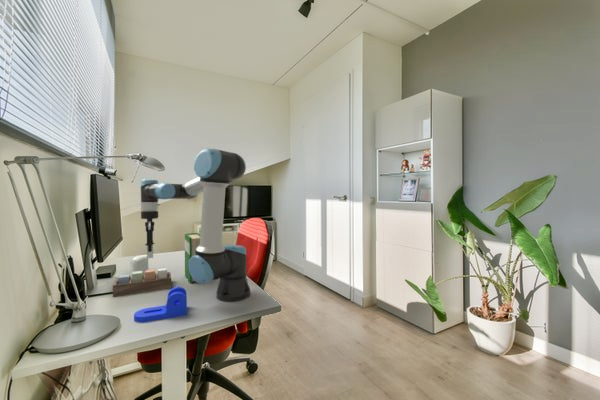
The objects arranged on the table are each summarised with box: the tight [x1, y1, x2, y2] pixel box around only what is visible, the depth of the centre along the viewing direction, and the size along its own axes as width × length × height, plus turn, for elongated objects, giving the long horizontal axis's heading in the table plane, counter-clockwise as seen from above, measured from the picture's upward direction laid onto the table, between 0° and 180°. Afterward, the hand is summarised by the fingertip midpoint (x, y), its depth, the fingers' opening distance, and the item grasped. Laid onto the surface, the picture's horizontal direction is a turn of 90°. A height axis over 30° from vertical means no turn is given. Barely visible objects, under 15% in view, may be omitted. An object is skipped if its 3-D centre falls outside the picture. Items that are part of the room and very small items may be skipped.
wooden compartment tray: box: [112, 271, 172, 297], centre depth 132 cm, size 12×24×5 cm, turn 118°
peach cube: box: [145, 269, 156, 281], centre depth 133 cm, size 4×4×4 cm
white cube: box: [157, 267, 168, 279], centre depth 136 cm, size 4×4×4 cm
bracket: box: [133, 286, 188, 323], centre depth 103 cm, size 18×8×9 cm, turn 114°
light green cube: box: [132, 271, 143, 282], centre depth 131 cm, size 4×4×4 cm
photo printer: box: [130, 254, 149, 277], centre depth 149 cm, size 10×4×12 cm, turn 172°
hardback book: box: [184, 232, 201, 285], centre depth 148 cm, size 18×7×24 cm, turn 31°
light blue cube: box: [118, 273, 131, 284], centre depth 128 cm, size 4×4×4 cm
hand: (150, 257), depth 133 cm, fingers closed
